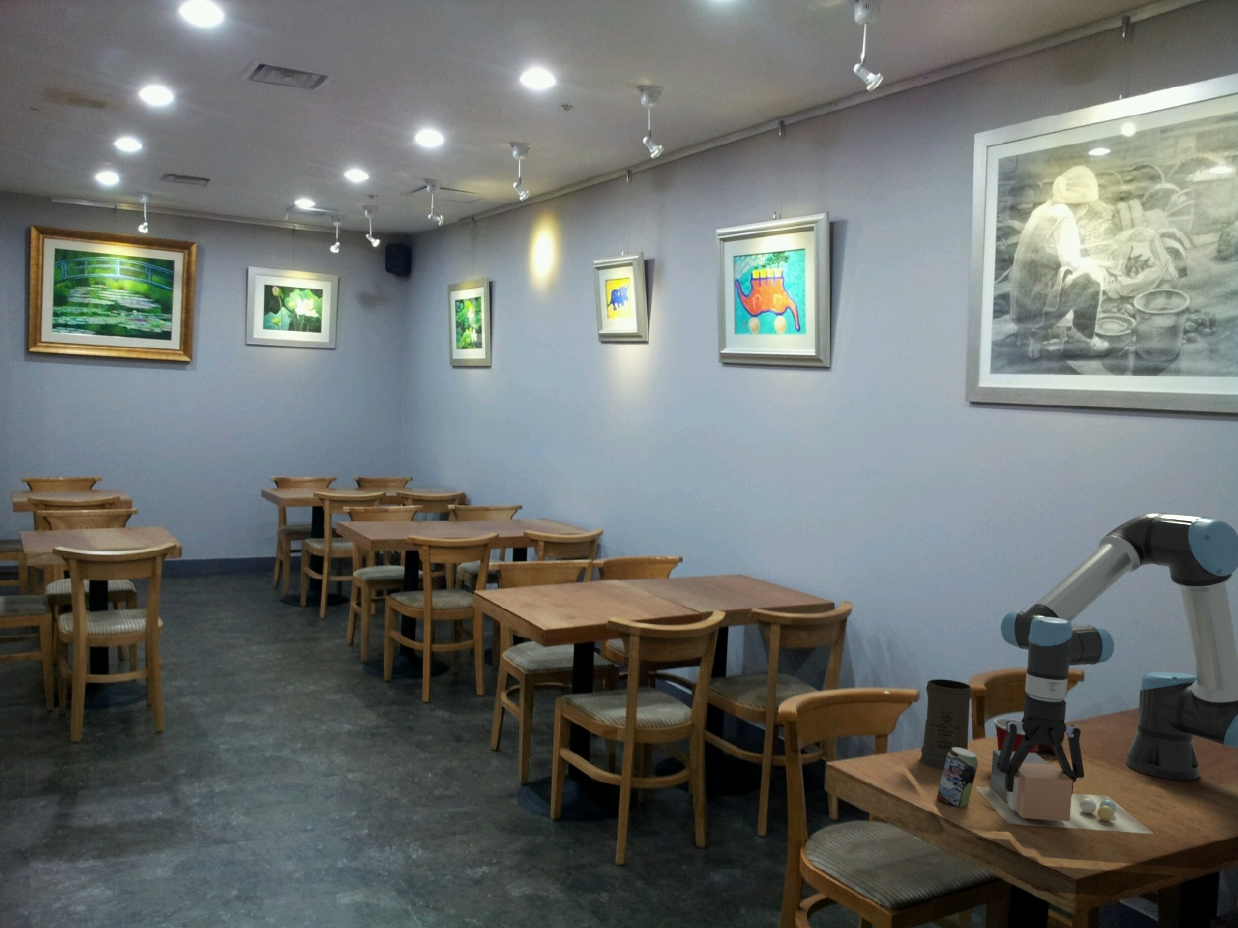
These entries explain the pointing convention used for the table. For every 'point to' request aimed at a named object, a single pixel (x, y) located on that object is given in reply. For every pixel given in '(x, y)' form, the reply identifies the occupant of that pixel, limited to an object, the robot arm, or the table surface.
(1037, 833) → the table surface
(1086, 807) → the marble cream
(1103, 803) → the marble teal
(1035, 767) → the salmon pink cube
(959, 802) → the beverage can
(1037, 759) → the gray cube
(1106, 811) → the marble amber
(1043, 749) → the mate gourd
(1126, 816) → the cream cloth mat
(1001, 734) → the plastic cup
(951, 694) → the beer stein
